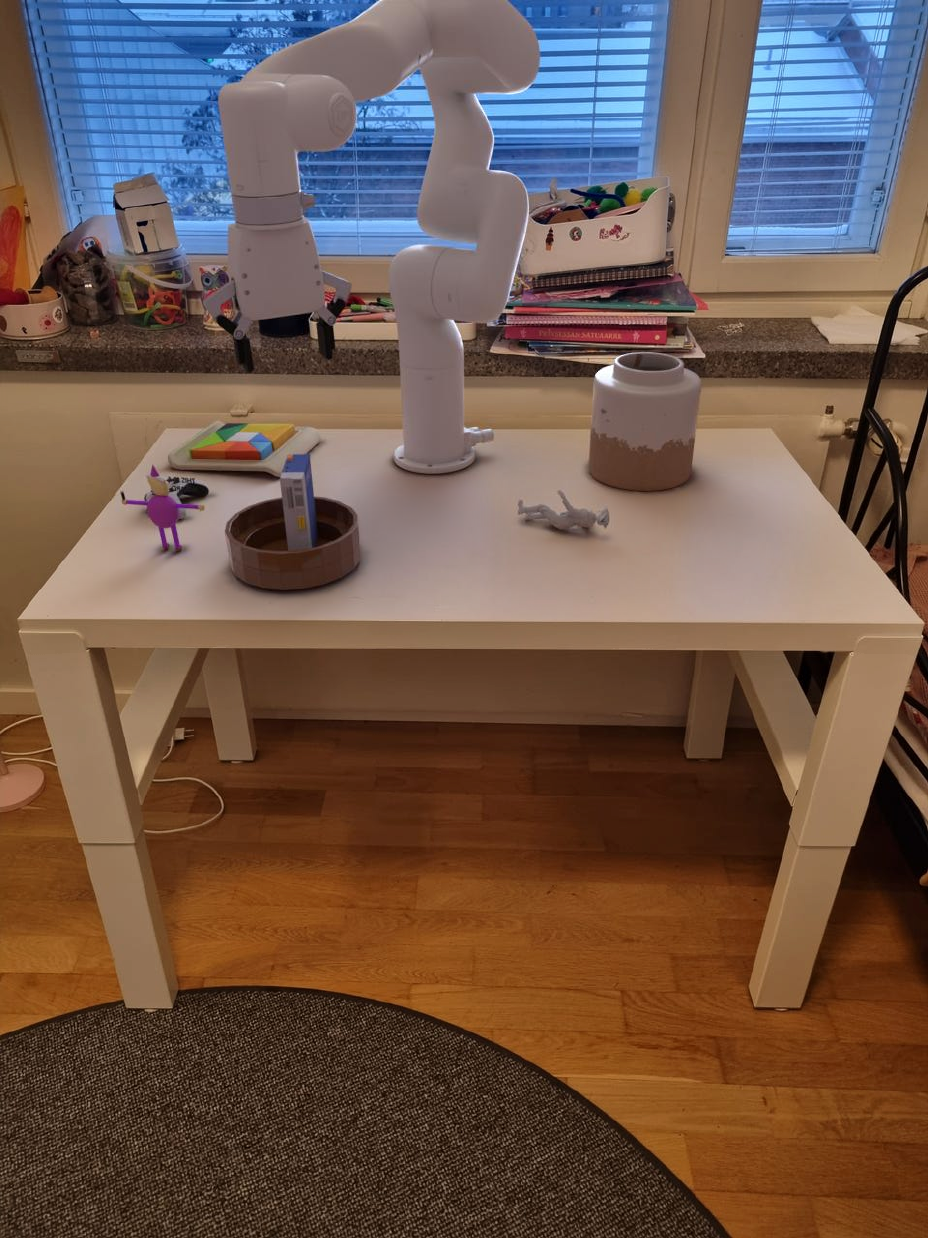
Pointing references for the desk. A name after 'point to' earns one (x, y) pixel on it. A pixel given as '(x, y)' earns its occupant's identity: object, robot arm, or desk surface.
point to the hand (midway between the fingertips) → (287, 362)
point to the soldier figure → (565, 515)
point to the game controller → (200, 492)
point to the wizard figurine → (164, 505)
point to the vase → (644, 422)
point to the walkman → (299, 502)
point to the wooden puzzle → (243, 447)
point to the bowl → (265, 549)
